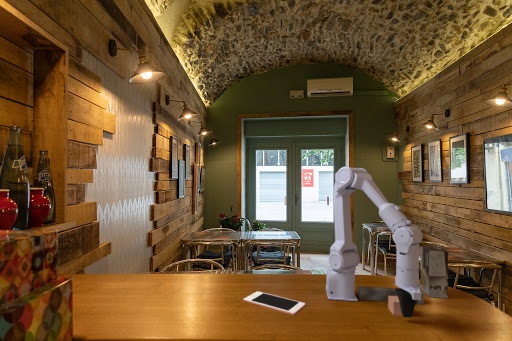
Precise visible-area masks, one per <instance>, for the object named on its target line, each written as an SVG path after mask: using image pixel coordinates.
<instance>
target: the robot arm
mask: <svg viewBox="0 0 512 341" xmlns="http://www.w3.org/2000/svg"><path fill="white" fill-rule="evenodd" d="M334 180H335V183H334V185H333V188H332V189H333V190H332V194H333V196H332V197H333V216H334V218H333V219H334V238H335V240H334V242H333V244H331V246H330V248H329V249H330V250H329V254H328V264H329V266H330V268H327V269H326V276H325V277H326V281H325V293H326V296H327V299H328V300H335V301H348V302H349V301H350V302H358V301H359V300H358V299H359V298H357V297H358V296H357V295H356V291H355V290H356V288H355V287H356V270H357V267H358V266H359V264H360V263H361V262H360V261H361V260H360V259H361V258H360V255H359V253H358V247H357V245H356V244H355V243H354V242H353V234H352V217H351V199H350V197H351V195H352V194H353V193H354V192H355V191H356V190H360V191H363V192H364V194H365V195H366V196H367V197H368V198H369V199H370V200H371V201H372V202H373V204H374V205H375V206H376V207H377V209H378V215H379V217H380V219H381V220H383V222H384V223H385V225H386V227H388V228H389V231H390V232H392V235H391V236H392V239H393V242H394V243H395V249H396V264H395V266H396V270H395V271H396V272H395V274H396V275H395V276H394V278H395V279H394V282H395V286H397V287H395V291H396V293H397V296H398V299H399V302H400V307H401V312H402V315H403V316H402V317H404V318H409V319H411V318H412V317H413V314H414V311H415V307H416V305H417V304H416V303H417V301H418V300H421V292H422V291H421V288H423V285H422V284H420V283H419V282H420V278H419V275H420V273H419V272H420V243H421V242H422V241H423V238H424V234H423V231H422V230H421V228H420V226H418V225H416V224H413V222H412V221H411V220H410V219H408V218H407V216H406V215H405V214H404V213H403V212H402V208H401V206H400V205H396V204H395V203H393V202H391V203H390V202H389V201H388V200H387V198H386V197H385V196H384V193H382V191H381V190H380V188H379V187H378V186H377V184H376V182H374V180H373V176H372V175H371V174H369V173H368V171H367V170H366V169H365V168H363V167H359V168H358V167H349V166H342V167H341V168H339V169H338V171H337V172H336V173H334ZM420 291H421V292H420Z"/></svg>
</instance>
